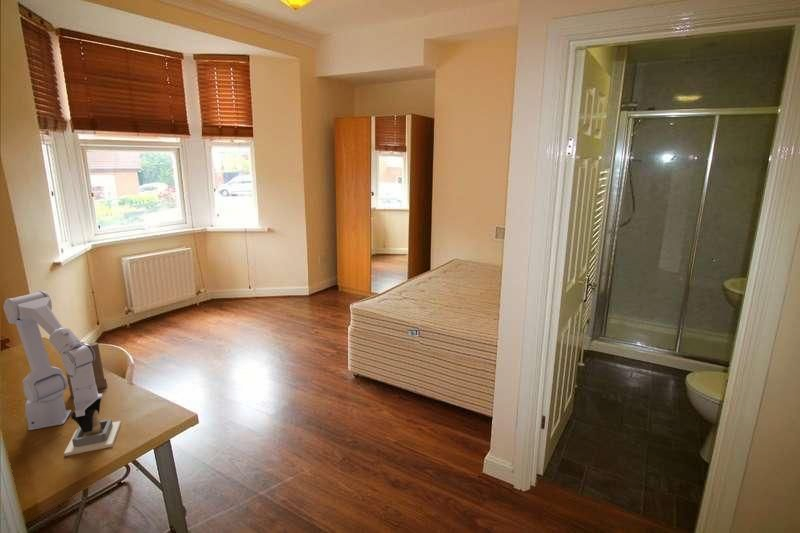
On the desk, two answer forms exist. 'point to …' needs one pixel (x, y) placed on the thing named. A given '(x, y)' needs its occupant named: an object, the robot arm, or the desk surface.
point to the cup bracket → (93, 438)
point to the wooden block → (94, 370)
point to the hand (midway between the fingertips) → (91, 423)
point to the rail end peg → (95, 425)
